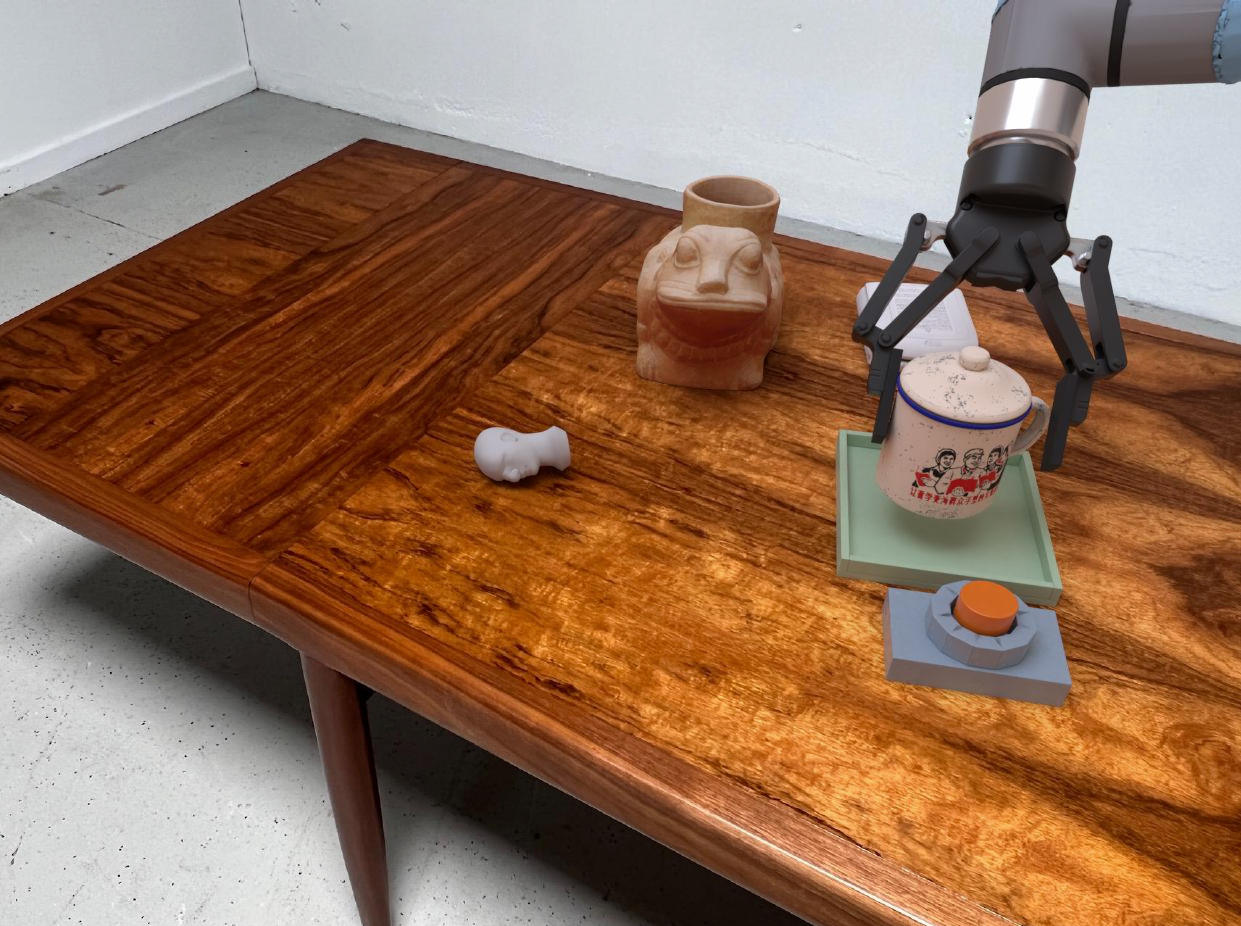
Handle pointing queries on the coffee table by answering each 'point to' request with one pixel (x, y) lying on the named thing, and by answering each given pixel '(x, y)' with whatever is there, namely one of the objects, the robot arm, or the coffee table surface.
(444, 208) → the coffee table surface
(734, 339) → the ceramic vessel
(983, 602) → the button
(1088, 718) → the coffee table surface
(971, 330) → the photo printer
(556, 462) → the smooth white sculpture
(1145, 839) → the coffee table surface
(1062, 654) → the control block
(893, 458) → the teacup with lid
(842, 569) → the tray
